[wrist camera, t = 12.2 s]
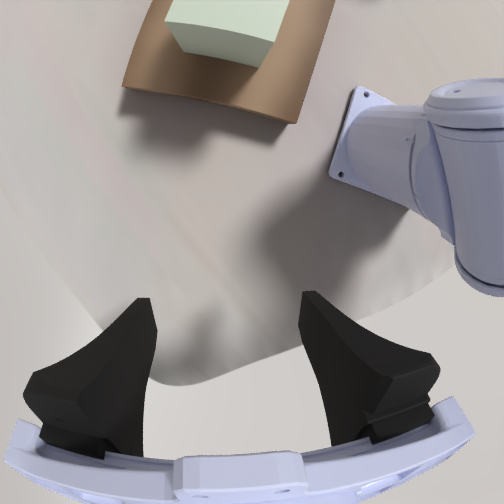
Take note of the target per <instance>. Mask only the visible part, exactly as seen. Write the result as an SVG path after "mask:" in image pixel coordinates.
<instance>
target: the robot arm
mask: <svg viewBox="0 0 504 504" xmlns="http://www.w3.org/2000/svg"><path fill="white" fill-rule="evenodd" d="M364 92H366V93H367V97H365V96H364ZM339 172H342V173H343V174H342V176H341V177H339V176H338V174H339ZM328 173H329V175H330V177H332V178H334V179H336V180H339V181H342V182H345V183H347V184H350V185H353V186H356V187H358V188H361V189H364V190H366V191H369V192H371V193H374V194H376V195H379V196H381V197H384V198H386V199H389V200H391V201H394V202H396V203H398V204H401V205H403V206H405V207H407V208H409V209H411V210H412V211H414V212H416V213H417V214H419V215H420V216H422V217H424V218H425V219H427V220H429V221H430V222H432V223H433V224H435V225H436V226H437V227H438V228H439V230H440V232H441V236H442V237H443V238H444V239H446V240H447V241H448V242H450V243H451V244H453V245H455V247H454V258H455V264H456V267H457V270H458V272H459V273H460V275H461V277H462V278H463V279H464V280H465V281H466V283H468V284H469V285H470V286H471V287H472V288H474V289H476V290H478V291H479V292H482V293H484V294H487V295H491V296H495V297H504V78H478V79H470V80H464V81H459V82H454V83H450V84H447V85H444V86H441V87H439V88H437V89H435V90H433V91H432V92H431V93H430V95H429V97H428V99H427V101H426V102H425V103H424V105H407V104H405V105H396V104H394V103H392V102H391V101H389V100H387V99H385V98H384V97H382V96H380V95H378V94H376V93H374V92H372V91H370V90H368V89H366V88H364V87H362V86H357V87H355V89H354V91H353V94H352V98H351V101H350V105H349V108H348V111H347V115H346V118H345V121H344V124H343V128H342V131H341V134H340V137H339V140H338V144H337V147H336V150H335V153H334V156H333V159H332V162H331V165H330V168H329V172H328ZM298 326H299V330H300V335H301V338H302V342H303V345H304V348H305V350H306V353H307V355H308V358H309V360H310V363H311V365H312V368H313V370H314V373H315V375H316V378H317V381H318V384H319V387H320V391H321V395H322V399H323V403H324V408H325V412H326V417H327V422H328V427H329V433H330V439H331V445H332V447H329V448H324V449H320V450H315V451H310V452H305V453H297V452H292V451H271V452H262V453H251V454H236V455H197V456H185V457H182V458H179V459H177V460H163V459H153V458H144V457H143V414H144V401H145V392H146V385H147V381H148V377H149V373H150V369H151V365H152V361H153V357H154V353H155V348H156V340H157V327H156V323H155V319H154V315H153V310H152V306H151V302H150V298H137V299H136V300H135V301H134V302H133V303H132V304H131V305H130V306H129V307H128V308H127V309H126V310H125V311H124V312H123V313H122V314H121V315H120V316H119V317H118V318H117V319H116V320H115V321H114V322H113V323H112V324H111V325H110V326H109V327H108V328H107V329H106V330H104V331H103V332H102V333H101V334H100V335H99V336H98V337H97V338H95V339H94V340H93V341H91V342H90V343H89V344H87V345H86V346H85V347H83V348H81V349H80V350H78V351H77V352H75V353H74V354H72V355H70V356H69V357H67V358H65V359H63V360H61V361H59V362H57V363H55V364H53V365H51V366H48V367H46V368H43V369H41V370H38V371H35V372H33V374H32V376H31V378H30V380H29V382H28V384H27V386H26V388H25V390H24V392H23V397H24V400H25V402H26V404H27V405H28V406H29V408H30V409H31V410H32V411H33V412H34V413H35V415H36V416H37V417H38V418H39V419H40V420H41V421H42V422H43V426H42V429H41V428H40V427H38V426H37V425H35V424H32V423H29V422H27V421H24V420H21V419H18V420H17V423H16V426H15V428H14V431H13V433H12V436H11V439H10V442H9V445H8V448H7V451H6V454H5V457H4V461H5V462H6V463H7V464H8V465H10V466H11V467H12V468H14V469H15V470H16V471H18V472H19V473H21V474H22V475H24V476H25V477H27V478H28V479H30V480H31V481H33V482H34V483H36V484H38V485H40V486H42V487H45V488H47V489H49V490H51V491H54V492H56V493H58V494H61V495H63V496H66V497H68V498H71V499H74V500H76V501H79V502H82V503H84V504H358V502H360V501H363V500H366V499H368V498H371V497H373V496H376V495H378V494H380V493H383V492H385V491H388V490H390V489H392V488H394V487H396V486H398V485H400V484H403V483H405V482H407V481H409V480H411V479H413V478H415V477H416V476H418V475H420V474H422V473H424V472H426V471H428V470H429V469H431V468H433V467H435V466H437V465H438V464H440V463H442V462H443V461H445V460H446V459H448V458H449V457H451V456H452V455H453V454H454V453H455V452H456V451H458V450H459V449H460V448H461V447H463V446H464V445H465V444H466V443H467V442H468V441H469V440H470V439H471V438H473V437H474V436H475V435H476V432H475V430H474V429H473V427H472V425H471V423H470V422H469V420H468V419H467V417H466V415H465V414H464V412H463V410H462V409H461V407H460V406H459V404H458V403H457V401H456V399H455V398H454V396H451V397H449V398H447V399H445V400H443V401H441V402H439V403H437V404H435V405H434V406H432V407H431V408H430V406H429V404H428V403H429V402H430V398H429V396H428V392H429V391H430V389H431V388H432V387H433V385H434V384H435V382H436V380H437V379H438V377H439V373H440V366H439V365H438V364H437V362H436V361H435V359H434V358H433V357H432V355H431V354H430V353H427V352H422V351H418V350H414V349H410V348H407V347H404V346H402V345H399V344H396V343H394V342H391V341H389V340H387V339H384V338H382V337H380V336H378V335H376V334H374V333H372V332H371V331H369V330H367V329H365V328H364V327H362V326H360V325H359V324H357V323H356V322H354V321H353V320H351V319H350V318H349V317H347V316H346V315H344V314H343V313H342V312H341V311H339V310H338V309H337V308H335V307H334V306H333V305H332V304H331V303H329V302H328V301H327V300H326V299H325V298H323V297H322V296H321V295H320V294H318V293H317V292H316V291H305V292H303V293H302V301H301V308H300V315H299V323H298Z"/></svg>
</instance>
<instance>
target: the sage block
mask: <svg viewBox="0 0 504 504" xmlns="http://www.w3.org/2000/svg"><path fill="white" fill-rule="evenodd" d="M289 1H290V0H173V2H172V5H171V7H170V9H169V11H168V14H167V16H166V18H165V21H164V22H165V23H166V25H167V26H168V28H169V29H170V31H171V33H172V34H173V36H174V37H175V39H176V41H177V42H178V44H179V45H180V47H181V49H182V50H183V52H187V53H193V54H199V55H205V56H210V57H215V58H220V59H224V60H229V61H233V62H237V63H242V64H245V65H249V66H253V67H257V68H259V67H260V66H261V64H262V62H263V61H264V59H265V57H266V55H267V54H268V52H269V51H270V49H271V47H272V46H273V44H274V42H275V40H276V37H277V34H278V31H279V28H280V25H281V23H282V20H283V17H284V14H285V12H286V9H287V6H288V4H289Z"/></svg>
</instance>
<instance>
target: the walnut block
mask: <svg viewBox="0 0 504 504" xmlns="http://www.w3.org/2000/svg"><path fill="white" fill-rule="evenodd" d="M172 2H173V0H153V1H152V3H151V6H150V8H149V10H148V12H147V15H146V17H145V19H144V22H143V24H142V27H141V29H140V32H139V34H138V37H137V40H136V42H135V45H134V48H133V51H132V54H131V57H130V60H129V63H128V66H127V69H126V72H125V76H124V79H123V83H122V87H125V88H128V89H132V90H139V91H147V92H155V93H162V94H168V95H174V96H180V97H186V98H191V99H196V100H201V101H206V102H211V103H215V104H220V105H224V106H228V107H232V108H236V109H240V110H244V111H248V112H251V113H255V114H259V115H262V116H266V117H269V118H272V119H275V120H279V121H282V122H285V123H288V124H296V123H297V120H298V117H299V114H300V111H301V108H302V105H303V101H304V98H305V95H306V92H307V89H308V86H309V83H310V79H311V76H312V73H313V70H314V67H315V64H316V60H317V57H318V54H319V51H320V48H321V45H322V41H323V38H324V35H325V32H326V29H327V26H328V22H329V19H330V16H331V13H332V10H333V6H334V3H335V0H290V1H289V4H288V6H287V9H286V12H285V14H284V17H283V20H282V23H281V25H280V28H279V31H278V34H277V37H276V40H275V42H274V44H273V46H272V47H271V49H270V51H269V52H268V54H267V55H266V57H265V59H264V61H263V62H262V64H261V66H260V67H259V68H257V67H253V66H249V65H245V64H242V63H237V62H233V61H229V60H224V59H220V58H215V57H210V56H205V55H199V54H193V53H187V52H183V50H182V49H181V47H180V45H179V44H178V42H177V41H176V39H175V37H174V36H173V34H172V33H171V31H170V29H169V28H168V26H167V25H166V23H165V22H164V21H165V18H166V16H167V14H168V11H169V9H170V7H171V5H172Z"/></svg>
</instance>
